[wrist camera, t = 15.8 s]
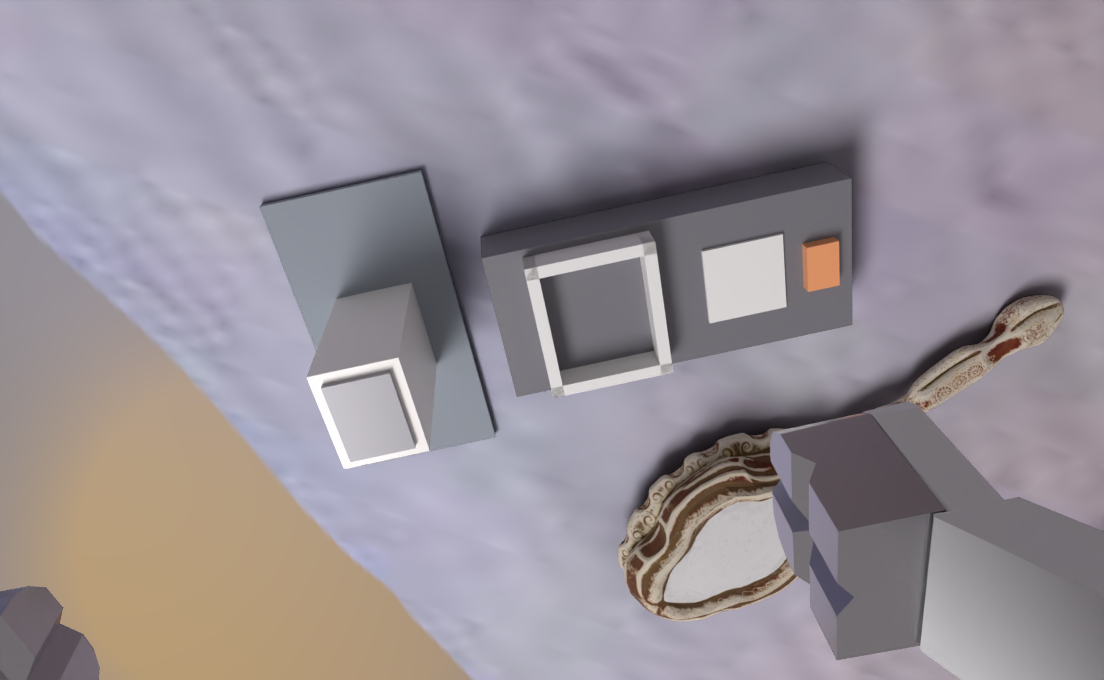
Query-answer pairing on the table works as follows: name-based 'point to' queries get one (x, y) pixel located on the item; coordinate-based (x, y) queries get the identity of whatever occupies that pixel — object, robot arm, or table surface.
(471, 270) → the table surface
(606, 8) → the table surface
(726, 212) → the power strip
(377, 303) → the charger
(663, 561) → the hand mirror
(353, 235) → the slate mat
